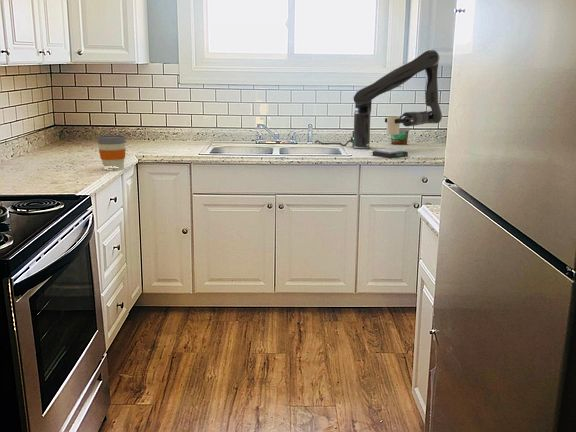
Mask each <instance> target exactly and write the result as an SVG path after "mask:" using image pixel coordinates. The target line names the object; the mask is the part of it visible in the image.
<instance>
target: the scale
mask: <svg viewBox="0 0 576 432" xmlns="http://www.w3.org/2000/svg"><path fill="white" fill-rule="evenodd" d="M371 156H374V157H378V158H379V157H380V158H386V159H396V158H403V157H404V158H405V157H408V156H409V152H408V151H406V149H399V148H393V147H385V148H378V149H373V151H372V155H371Z"/></svg>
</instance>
